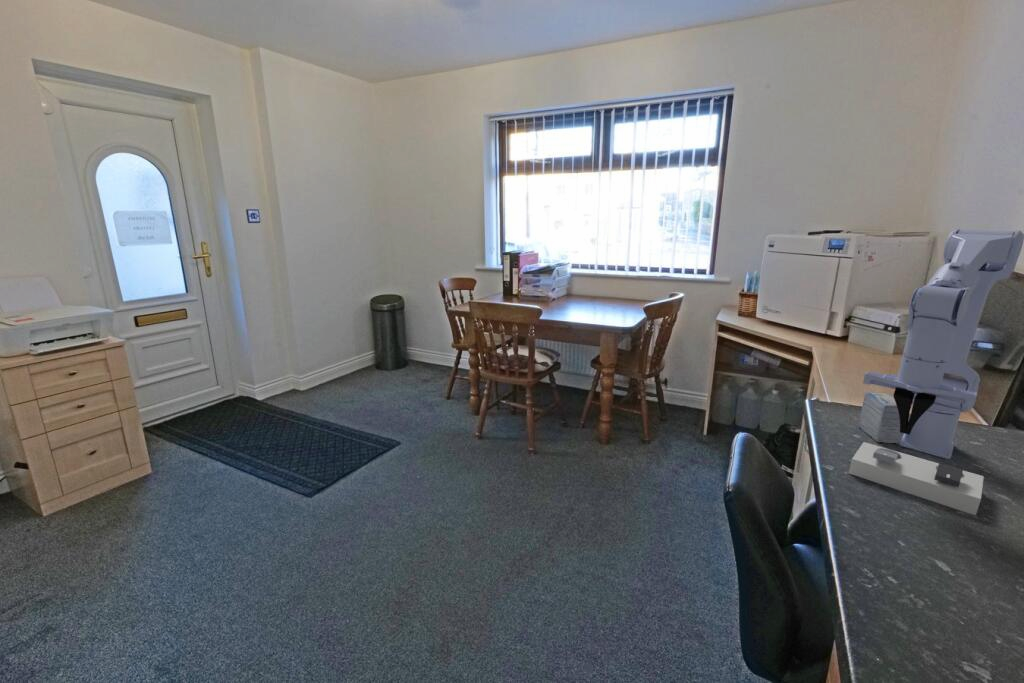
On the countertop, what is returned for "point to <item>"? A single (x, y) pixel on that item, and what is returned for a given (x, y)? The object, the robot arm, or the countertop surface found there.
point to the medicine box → (880, 418)
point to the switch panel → (917, 478)
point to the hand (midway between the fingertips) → (905, 431)
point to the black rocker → (948, 475)
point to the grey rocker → (885, 456)
